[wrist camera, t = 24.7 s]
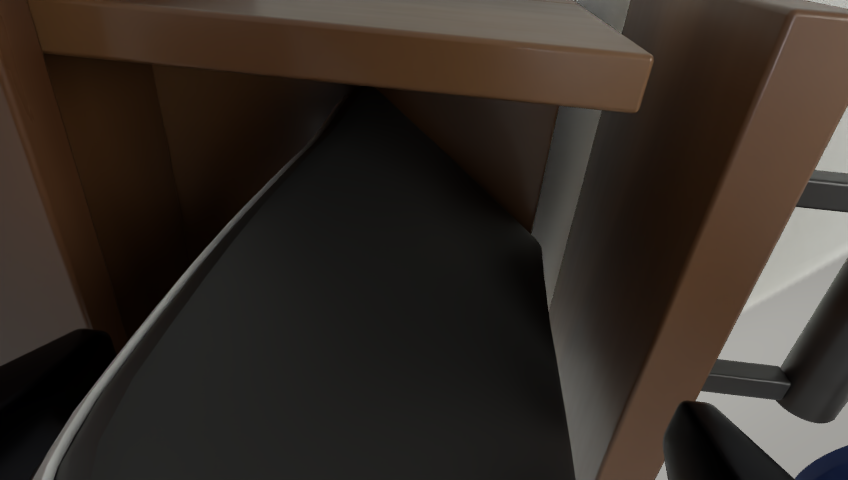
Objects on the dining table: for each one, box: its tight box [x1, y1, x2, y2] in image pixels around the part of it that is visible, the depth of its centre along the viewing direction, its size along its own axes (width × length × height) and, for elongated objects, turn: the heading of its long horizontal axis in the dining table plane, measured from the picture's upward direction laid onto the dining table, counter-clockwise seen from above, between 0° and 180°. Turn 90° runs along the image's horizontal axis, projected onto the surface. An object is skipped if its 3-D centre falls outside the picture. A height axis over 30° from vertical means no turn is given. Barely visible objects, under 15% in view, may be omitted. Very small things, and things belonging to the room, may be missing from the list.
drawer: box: [27, 0, 848, 480], centre depth 12 cm, size 18×11×7 cm, turn 86°
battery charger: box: [29, 86, 576, 480], centre depth 9 cm, size 7×4×11 cm, turn 47°
